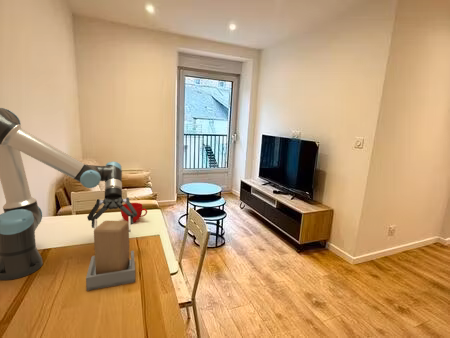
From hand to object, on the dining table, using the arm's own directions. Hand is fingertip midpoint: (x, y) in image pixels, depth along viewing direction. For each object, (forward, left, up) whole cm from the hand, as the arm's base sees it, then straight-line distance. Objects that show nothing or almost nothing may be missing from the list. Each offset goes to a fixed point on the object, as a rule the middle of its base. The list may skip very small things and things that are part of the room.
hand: (112, 232), depth 108 cm
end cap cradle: (-3, -10, -13) cm, 17 cm away
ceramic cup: (+22, +44, -13) cm, 51 cm away
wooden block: (-2, -11, -12) cm, 16 cm away
